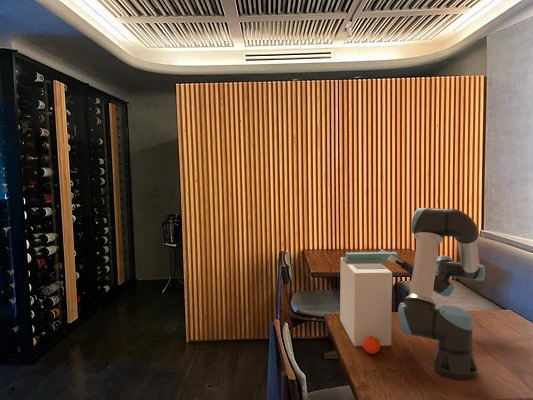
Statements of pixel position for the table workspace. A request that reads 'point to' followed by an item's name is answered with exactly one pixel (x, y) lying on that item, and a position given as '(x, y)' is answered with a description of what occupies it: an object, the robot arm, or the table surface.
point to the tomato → (371, 344)
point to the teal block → (370, 255)
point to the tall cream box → (366, 300)
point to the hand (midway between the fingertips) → (384, 254)
